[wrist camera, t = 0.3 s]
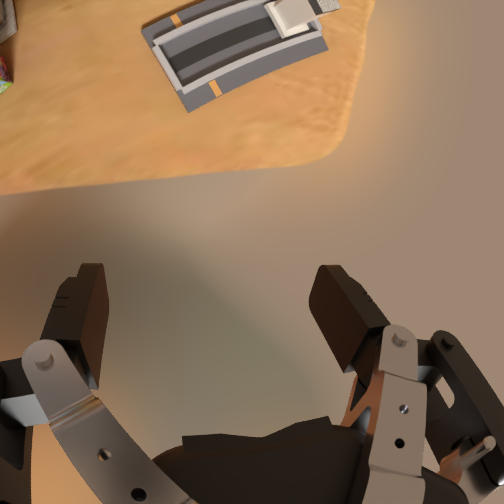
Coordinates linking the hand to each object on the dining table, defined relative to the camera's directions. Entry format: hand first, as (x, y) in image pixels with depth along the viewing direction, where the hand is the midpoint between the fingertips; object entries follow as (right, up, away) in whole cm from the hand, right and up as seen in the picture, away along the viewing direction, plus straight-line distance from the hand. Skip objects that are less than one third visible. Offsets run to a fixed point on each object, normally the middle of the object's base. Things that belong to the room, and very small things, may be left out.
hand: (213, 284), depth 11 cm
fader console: (0, +27, +18) cm, 33 cm away
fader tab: (+5, +30, +17) cm, 35 cm away
